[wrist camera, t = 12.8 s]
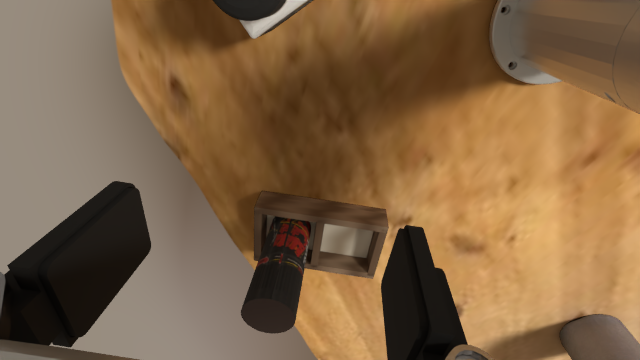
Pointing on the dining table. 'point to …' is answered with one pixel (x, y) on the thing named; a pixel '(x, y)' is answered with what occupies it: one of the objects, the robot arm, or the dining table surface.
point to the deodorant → (278, 277)
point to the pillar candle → (599, 339)
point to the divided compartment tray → (327, 232)
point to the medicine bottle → (261, 13)
